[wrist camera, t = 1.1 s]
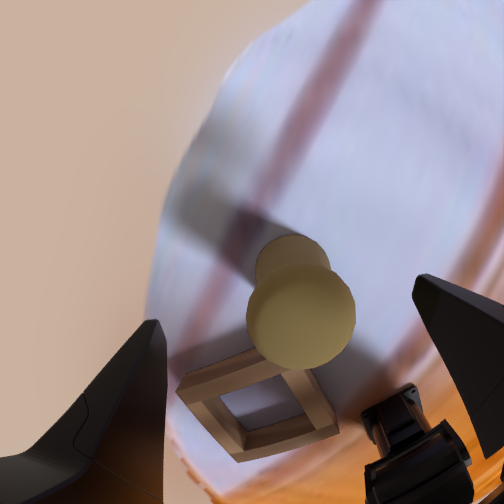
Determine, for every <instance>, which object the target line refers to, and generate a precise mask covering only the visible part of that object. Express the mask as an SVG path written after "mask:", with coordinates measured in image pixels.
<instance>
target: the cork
mask: <svg viewBox="0 0 504 504" xmlns="http://www.w3.org/2000/svg"><path fill="white" fill-rule="evenodd" d="M255 276H256V283H257V286H256V287H255V289H254V291H253V293H252V295H251V296H250V299H249V301H248V307H247V313H246V322H247V328H248V333H249V336H250V338H251V340H252V342H253V344H254V346H255V347H256V349H257V351H258V352H260V353H261V354H262V355H263V356H264V357H265V358H266V359H267V360H268V361H270V362H273V363H275V364H277V365H279V366H281V367H284V368H289V369H296V370H303V369H311V368H316V367H318V366H320V365H323V364H325V363H328V362H329V361H330V360H332V359H333V358H334V357H335V356H337V355H338V354H339V353H340V352H342V350H343V349H344V348H345V346H346V345H347V343H348V342H349V340H350V339H351V337H352V334H353V330H354V327H355V324H356V314H355V301H354V299H353V296H352V294H351V291H350V289H349V287H348V286H347V285H346V284H345V283H344V282H343V280H342V279H341V278H340V277H339V276H338V275H337V274H336V273H335V272H333V271H332V270H331V267H330V262H329V260H328V257H327V255H326V253H325V251H324V250H323V249H322V248H321V247H320V245H319V244H318V243H317V242H315V241H313V240H311V239H310V238H308V237H306V236H300V235H295V234H293V235H286V236H281V237H279V238H277V239H275V240H273V241H271V242H270V243H269V244H268V245H267V246H266V247H265V248H264V249H263V250H262V251H261V253H260V255H259V257H258V259H257V262H256V268H255Z"/></svg>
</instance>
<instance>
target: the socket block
mask: <svg viewBox="0 0 504 504" xmlns="http://www.w3.org/2000/svg"><path fill="white" fill-rule="evenodd" d="M278 374H281V375H282V377H283V378H284V380H285V382H286V383H287V385H288V386H289V388H290V389H291V391H292V393H293V394H294V396H295V397H296V399H297V401H298V402H299V404H300V405H301V407H302V408H303V410H304V411H305V414H302V415H300V416H297V417H294V418H291V419H288V420H285V421H282V422H279V423H276V424H273V425H270V426H267V427H263V428H260V429H256V430H253V431H249V432H247V431H246V430H245V429H244V427H243V426H242V425H241V424H240V423H239V421H238V420H237V419H236V418H235V416H234V415H233V414H232V413H231V411H230V410H229V409H228V408H227V406H226V405H225V404H224V402H223V401H222V400H221V398H220V397H219V396H220V395H223V394H226V393H229V392H232V391H235V390H238V389H241V388H244V387H247V386H249V385H252V384H255V383H258V382H260V381H263V380H266V379H268V378H271V377H273V376H276V375H278ZM175 392H176V393H177V395H178V396H179V397H180V399H181V400H182V401H183V402H184V404H185V405H186V406H187V407H188V409H189V410H190V411H191V412H192V413H193V415H194V416H195V417H196V418H197V419H198V421H199V422H200V423H201V424H202V425H203V426H204V428H205V429H206V430H207V431H208V432H209V433H210V434H211V435H212V437H213V438H214V439H215V440H216V441H217V442H218V443H219V444H220V445H221V446H222V447H223V448H224V449H225V450H226V452H227V453H228V454H229V455H230V456H231V457H232V458H233V459H234V460H235V461H236V462H237V463H240V462H245V461H250V460H254V459H259V458H263V457H267V456H271V455H275V454H279V453H282V452H286V451H289V450H293V449H296V448H299V447H302V446H305V445H308V444H311V443H314V442H317V441H320V440H323V439H326V438H328V437H331V436H334V435H336V434H339V433H340V432H339V427H338V423H337V418H336V414H335V412H334V410H333V408H332V407H331V405H330V403H329V401H328V399H327V398H326V396H325V394H324V392H323V391H322V389H321V387H320V385H319V383H318V382H317V380H316V378H315V376H314V374H313V373H312V371H311V369H303V370H296V369H289V368H284V367H281V366H279V365H277V364H275V363H273V362H270V361H268V360H267V359H266V358H265V357H264V356H263V355H262V354H261V353H260V352H258V351H257V349H256V347H255V348H253V349H250V350H248V351H245V352H243V353H241V354H238V355H236V356H233V357H231V358H228V359H226V360H223V361H220V362H218V363H215V364H213V365H210V366H207V367H204V368H202V369H199V370H196V371H193V372H191V373H188V374H185V376H184V377H183V379H182V381H181V383H180V384H179V386H178V388H177V390H176V391H175Z"/></svg>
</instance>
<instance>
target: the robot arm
mask: <svg viewBox="0 0 504 504" xmlns="http://www.w3.org/2000/svg"><path fill="white" fill-rule="evenodd" d="M412 299H413V302H414V304H415V306H416V308H417V310H418V312H419V314H420V316H421V318H422V321H423V323H424V325H425V327H426V329H427V331H428V333H429V335H430V337H431V339H432V340H433V342H434V344H435V346H436V348H437V350H438V351H439V353H440V355H441V357H442V359H443V361H444V363H445V365H446V367H447V369H448V371H449V373H450V375H451V377H452V379H453V381H454V383H455V385H456V387H457V389H458V391H459V394H460V396H461V398H462V400H463V403H464V405H465V407H466V409H467V412H468V414H469V416H470V419H471V422H472V424H473V427H474V429H475V432H476V435H477V437H478V440H479V443H480V446H481V448H482V451H483V454H484V457H485V459H488V458H489V457H490V456H492V455H493V454H495V453H496V452H497V451H498V450H500V449H501V448H502V447H503V446H504V305H503V304H502V305H501V304H500V303H498V302H496V301H493V300H491V299H489V298H486V297H484V296H482V295H479V294H477V293H475V292H472V291H470V290H467V289H465V288H462V287H460V286H457V285H455V284H452V283H450V282H448V281H445V280H442V279H440V278H437V277H435V276H432V275H430V274H421V275H418V276H417V278H416V280H415V284H414V288H413V291H412ZM167 386H168V383H167V343H166V338H165V335H164V332H163V330H162V327H161V325H160V322H159V321H158V320H157V319H152V320H146V321H144V322H143V323H142V324H141V326H140V327H139V328H138V329H137V330H136V331H135V332H134V333H133V335H132V336H131V337H130V338H129V339H128V341H126V343H125V344H124V345H123V346H122V347H121V348H120V349H119V350H118V352H117V353H116V354H115V355H114V356H113V357H112V359H111V360H110V361H109V362H108V363H107V364H106V365H105V367H104V368H103V369H102V370H101V371H100V372H99V374H98V375H97V376H96V377H95V378H94V379H93V381H92V382H91V383H90V384H89V385H88V387H87V388H86V389H85V390H84V393H82V394H81V395H80V396H79V397H78V398H77V400H76V401H75V402H74V403H73V404H72V405H71V407H70V408H69V409H68V410H67V411H66V412H65V413H64V414H63V416H61V417H60V419H59V420H58V421H57V422H56V423H55V424H54V425H53V426H52V427H51V428H50V429H49V430H48V431H47V432H46V433H45V434H44V435H43V436H42V437H41V438H40V439H39V440H38V441H37V442H36V443H35V444H34V445H33V446H32V447H31V448H29V449H28V450H26V451H25V452H23V453H20V454H17V455H13V456H7V457H1V458H0V504H163V459H164V433H165V415H166V400H167ZM412 390H413V391H412ZM366 414H367V415H366ZM361 418H362V420H363V422H364V424H365V426H366V428H367V430H368V433H369V435H370V437H371V439H372V441H373V443H374V444H375V445H377V448H378V451H379V454H380V457H381V459H379V460H377V461H375V462H373V463H371V464H370V463H369V464H367V465H365V472H364V476H365V489H366V498H365V504H471V503H472V502H473V498H474V489H473V482H472V480H471V477H470V475H469V473H468V470H467V467H468V466H470V465H471V464H472V461H471V458H470V455H469V453H468V451H467V449H466V447H465V445H464V443H463V442H462V440H461V439H460V437H459V436H458V435H457V433H456V432H455V431H454V430H453V428H452V427H451V426H450V425H449V423H448V422H447V421H446V420H445V419H444V420H443V421H441V422H440V424H438V425H437V426H435V427H434V428H431V426H430V424H429V423H428V421H427V419H426V418H425V416H424V414H423V410H422V405H421V401H420V397H419V392H418V389H417V387H416V386H411V387H409V388H408V389H406V390H404V391H402V392H401V393H399V394H397V395H395V396H393V397H391V398H389V399H388V400H386V401H384V402H382V403H380V404H378V405H376V406H374V407H372V408H369V409H367V410H365V411H363V412H362V413H361ZM500 479H501V481H502V484H501V485H499V486H498V487H497V488H496V489H495V490H494V491H493V492H492V493H490V494H489V495H488V496H487V497H486V498H485V499H483V500H482V501H481V502H480V503H479V504H504V464H503V468H502V473H501V477H500Z"/></svg>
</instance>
